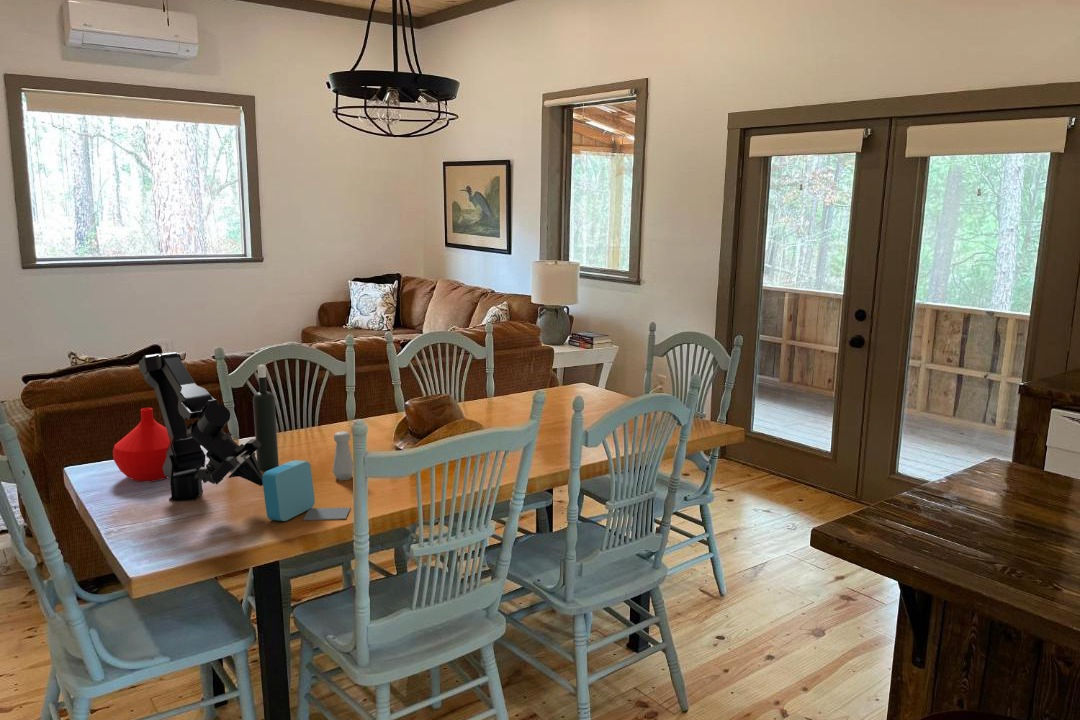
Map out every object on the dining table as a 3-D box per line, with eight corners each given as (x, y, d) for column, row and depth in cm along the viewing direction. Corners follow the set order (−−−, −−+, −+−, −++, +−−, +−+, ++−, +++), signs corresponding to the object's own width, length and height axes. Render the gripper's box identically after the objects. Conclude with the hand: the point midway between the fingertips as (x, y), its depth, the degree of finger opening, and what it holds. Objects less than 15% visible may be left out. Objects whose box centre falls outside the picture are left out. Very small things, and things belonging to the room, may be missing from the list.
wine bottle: (254, 467, 231) (247, 364, 225) (274, 463, 235) (268, 362, 229) (261, 472, 227) (254, 367, 221) (281, 468, 230) (275, 365, 224)
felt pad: (303, 520, 193) (303, 519, 193) (309, 509, 199) (309, 508, 199) (345, 519, 193) (345, 518, 193) (350, 508, 200) (350, 507, 200)
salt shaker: (349, 482, 219) (347, 436, 216) (329, 480, 220) (327, 434, 218) (358, 475, 225) (356, 430, 222) (338, 474, 226) (336, 429, 223)
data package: (301, 504, 203) (296, 458, 201) (316, 506, 201) (310, 459, 199) (267, 521, 192) (260, 473, 190) (281, 523, 190) (275, 474, 188)
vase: (119, 492, 211) (112, 421, 208) (112, 472, 226) (105, 406, 223) (194, 479, 221) (188, 411, 217) (182, 461, 236) (177, 398, 233)
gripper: (209, 450, 203) (255, 493, 205) (174, 475, 185) (225, 521, 187) (237, 420, 202) (284, 463, 204) (205, 442, 183) (257, 489, 185)
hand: (263, 484), depth 195 cm, fingers closed
